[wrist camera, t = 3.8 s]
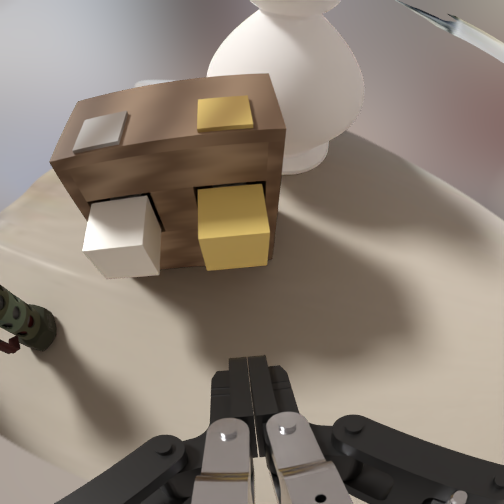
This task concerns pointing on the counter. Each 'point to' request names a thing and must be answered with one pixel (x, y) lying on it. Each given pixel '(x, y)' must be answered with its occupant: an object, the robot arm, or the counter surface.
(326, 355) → the counter surface
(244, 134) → the brown wooden block
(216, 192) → the mustard button
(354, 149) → the counter surface
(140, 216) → the ivory button
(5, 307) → the grenade
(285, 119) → the decorative vase
